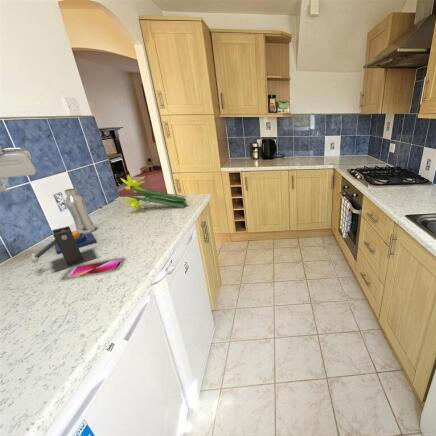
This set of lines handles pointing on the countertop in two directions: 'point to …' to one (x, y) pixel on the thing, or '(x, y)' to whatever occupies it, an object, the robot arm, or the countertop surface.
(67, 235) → the black stand
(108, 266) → the smartphone
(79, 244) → the boil block
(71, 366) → the countertop surface
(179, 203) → the daffodil flowers
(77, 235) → the boil button
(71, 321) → the countertop surface
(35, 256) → the switch lever
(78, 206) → the plastic bottle
